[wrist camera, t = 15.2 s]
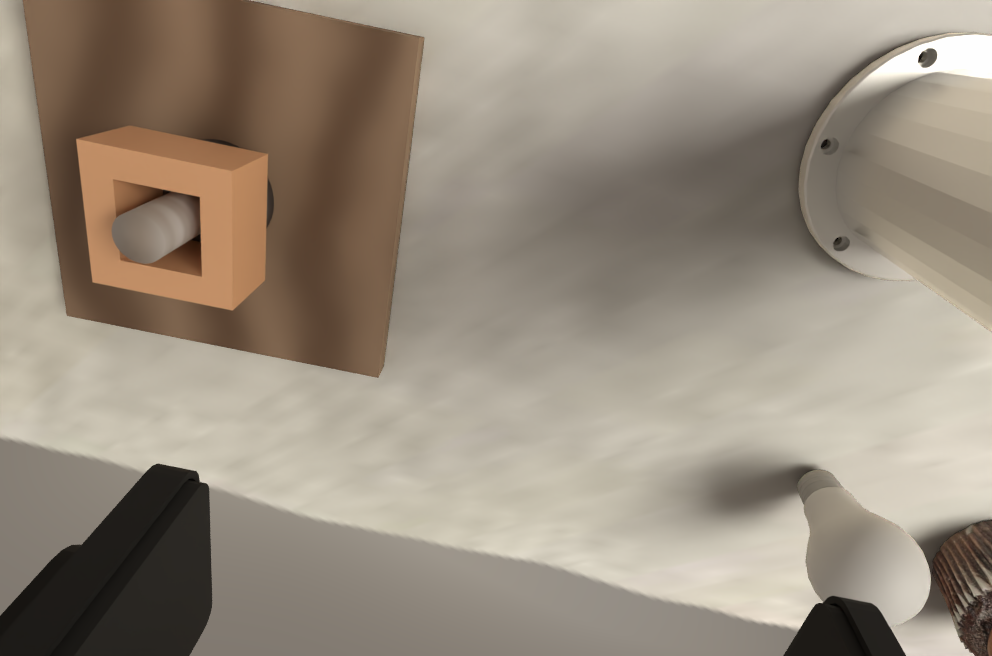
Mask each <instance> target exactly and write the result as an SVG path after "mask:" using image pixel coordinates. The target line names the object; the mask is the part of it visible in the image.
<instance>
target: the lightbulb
mask: <svg viewBox="0 0 992 656" xmlns="http://www.w3.org/2000/svg"><path fill="white" fill-rule="evenodd" d="M797 489H798V492H799V495H800V497H801V499H802V502H803V504H804V514H805V516H806V518H807V521H808V524H809V528H810V537H809V540H808V546H807V553H806V567H807V572H808V578H809V580H810V582H811V584H812V586H813V588H814V590H815V592H816V594H817V595H818V596H819V597H820V599H821V600H822V601H823V602H824V601H825V600H826V599H827V598H828V597H830V596H838V597H843V598H848V599H853V600H858V601H863V602H868V603H872V604H874V605H875V606H876V607H878V609H879V610H880V612H881V613H882V614H883V616H884V618H885V620H886V621H887V623H888V625H889V627H893V626H897V625H900V624H902V623H905V622H906V621H908V620H910V619H911V618H913V617H914V616H915V615H917V614H918V613H919V612H920V611H921V609H922V608H923V606H924V605H925V603H926V600H927V598H928V596H929V591H930V585H931V575H930V570H929V566H928V563H927V560H926V558H925V556H924V553H923V551H922V550H921V548H920V547H919V545H918V544H917V543H916V541H915V540H914V539H913V538H912V537H911V536H910V535H909V534H908V533H907V532H905V531H904V530H903V529H902V528H900V527H899V526H898V525H896V524H894V523H892V522H890V521H888V520H886V519H885V518H882V517H880V516H878V515H876V514H873V513H871V512H869V511H868V510H866V509H865V508H863V507H862V506H861V505H860V504H859V503H858V502H857V501H856V499H855V498H854V497H853V495H852V494H851V493H849V492H848V491H847V490H845V489H844V488H843V487H842V486H841V484H840V483H839V482H838V481H837V479H836V478H835V477H834V475H833V474H831V473H830V472H828V471H824V470H813V471H810V472H808V473H806V474H804V475H803V476H802V477H801V478H800V480H799V482H798V484H797Z"/></svg>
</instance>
